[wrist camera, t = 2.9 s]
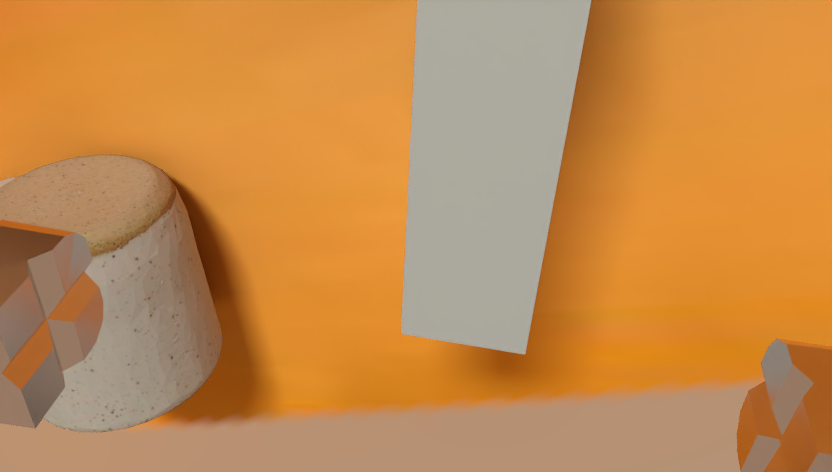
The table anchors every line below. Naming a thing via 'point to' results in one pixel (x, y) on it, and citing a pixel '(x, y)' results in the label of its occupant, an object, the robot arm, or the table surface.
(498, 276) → the grey flat block
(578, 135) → the table surface
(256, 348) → the table surface
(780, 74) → the table surface
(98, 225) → the ceramic mug
